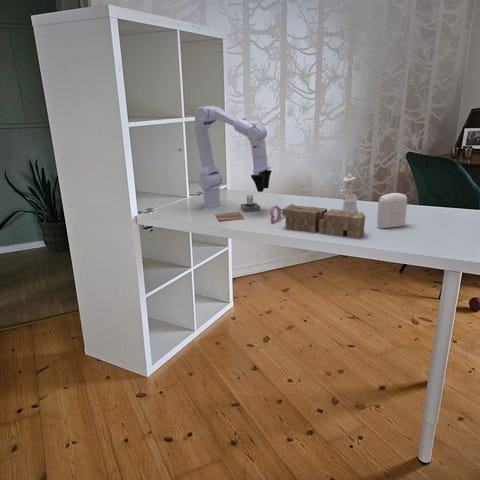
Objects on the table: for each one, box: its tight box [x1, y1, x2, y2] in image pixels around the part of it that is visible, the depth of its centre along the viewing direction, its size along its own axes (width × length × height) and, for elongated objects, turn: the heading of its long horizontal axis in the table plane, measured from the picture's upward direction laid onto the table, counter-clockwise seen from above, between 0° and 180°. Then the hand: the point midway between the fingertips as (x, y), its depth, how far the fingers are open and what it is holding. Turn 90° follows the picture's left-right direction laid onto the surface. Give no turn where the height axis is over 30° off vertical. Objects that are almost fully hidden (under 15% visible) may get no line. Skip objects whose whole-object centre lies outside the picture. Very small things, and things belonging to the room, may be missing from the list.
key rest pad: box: [214, 211, 245, 223], centre depth 178 cm, size 10×10×1 cm
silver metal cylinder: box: [246, 194, 254, 207], centre depth 187 cm, size 3×3×6 cm
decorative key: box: [269, 204, 283, 224], centre depth 175 cm, size 7×1×20 cm
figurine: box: [339, 172, 359, 212], centre depth 168 cm, size 7×8×18 cm
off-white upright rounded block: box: [376, 192, 408, 229], centre depth 156 cm, size 10×4×12 cm, turn 103°
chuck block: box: [240, 202, 261, 213], centre depth 188 cm, size 7×7×2 cm
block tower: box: [281, 203, 366, 240], centre depth 156 cm, size 8×8×29 cm
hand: (263, 189), depth 178 cm, fingers open, 7 cm apart
